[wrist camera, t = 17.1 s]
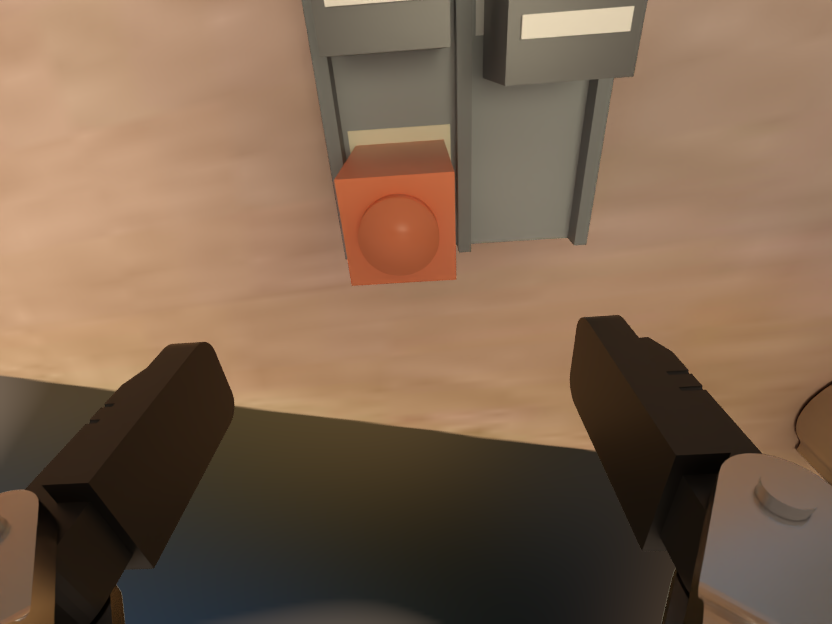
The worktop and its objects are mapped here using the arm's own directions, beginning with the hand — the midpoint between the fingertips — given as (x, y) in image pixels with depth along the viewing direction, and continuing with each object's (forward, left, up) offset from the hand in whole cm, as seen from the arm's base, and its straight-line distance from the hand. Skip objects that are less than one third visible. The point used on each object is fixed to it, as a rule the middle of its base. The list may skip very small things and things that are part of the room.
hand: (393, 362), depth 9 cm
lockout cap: (0, 0, -13) cm, 13 cm away
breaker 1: (+7, 0, -13) cm, 15 cm away
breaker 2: (+6, -6, -13) cm, 15 cm away
